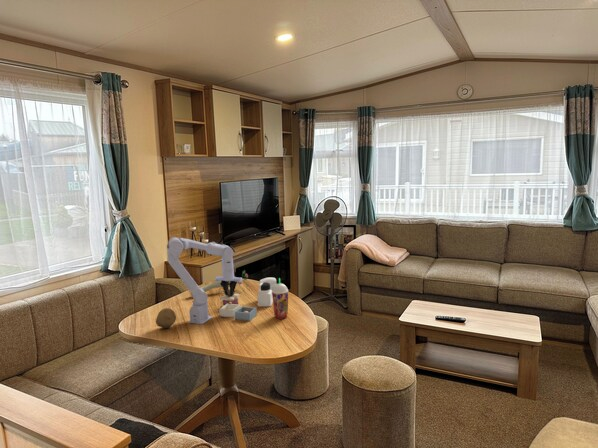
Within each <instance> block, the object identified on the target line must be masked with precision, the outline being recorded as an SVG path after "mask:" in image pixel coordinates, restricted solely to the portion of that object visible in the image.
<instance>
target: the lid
mask: <svg viewBox="0 0 598 448" xmlns="http://www.w3.org/2000/svg"><path fill="white" fill-rule="evenodd" d="M240 296H241V294H240V293H234V295H233V296H231V294H230V289H229V290H227V295H225V294H224V295H222V296H221V297H220V298H219V300H220V301H223V300H230V301H233V300H235V299H236V298H239V297H240Z"/></svg>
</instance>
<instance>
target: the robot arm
mask: <svg viewBox="0 0 598 448" xmlns="http://www.w3.org/2000/svg"><path fill="white" fill-rule="evenodd" d="M190 248H191V249H196V250H202V251H205V252H206V254H208V255H213V256H216V257H217V256H218V257H221V270H222V276H215V278H214V281H221V283H220V284H221V286H222V287H221V288H222V289H223V292H224V295H227V290H230V294H231V296H233V295H234V294H235V292H234V291H235V289H236V287H237V284H238V282H239V283H241V282H242V283H243V277H242V278H240V277H237V276H235V271H234V269H235V268H234V258H233V256H234V254H235V251H234V249H233V248H232V247H230V246H229V245H226V244H224V243H223V244H219V243H217V242H215V241H211V242H208V243H204V242H201V241H197V240H194V239H190V238H189V239H188V238H184V237H177V236H174V237H170V238H169V240H168V242H167V244H166V255H167V256H166V260H167V262H168V264H169V266H170V267H171V268H172V269H173V271H174V272H175V273H176V275H177V276H178V277H179V278H180V280H181V282H183V283H184V284H185V287H187V289H188V290H189V293H190V292H191V293H192V296H193V298H192V299H193V301H192V306H191V307H190V309H189V310H188V311H189V312H188V313H189V321H188V323H189V324H197V325H203V324H205V323H206V322H207V321H210V320H211V319H212V318H213V316H211V315H209V305H208V302H209V301H208V294H207V293H206V292H204V290H203V289H202V288H200V287H201V286H199V285H198V284H197V282H196V281H195V280H194V278H193V277H192V276H191V275H190V273H189V271H188V270H187V269H186V268H185V267H184V265H183V264H182V262H181V261H180V260H179V259H180V256H181V253H182V252H183V249H184V250H185V251H186V250H188V249H190ZM191 293H190V294H191ZM192 296H191V297H192Z"/></svg>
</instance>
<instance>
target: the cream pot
mask: <svg viewBox="0 0 598 448" xmlns="http://www.w3.org/2000/svg"><path fill="white" fill-rule="evenodd" d="M241 307H242V306H241V304H237V305H236V304H226V305H223V306H221V307H219V311H218V312H219V317H223V318H230V319H231V318H232V319H234V318H235V312H236V311H237V310H238V309H240V308H241Z"/></svg>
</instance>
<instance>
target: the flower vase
mask: <svg viewBox="0 0 598 448" xmlns="http://www.w3.org/2000/svg"><path fill="white" fill-rule="evenodd" d="M241 276H242V277H239V278H242V279H243V281H248V278H249V274H248V273H246V270H245V269H244V270H243V271H242V274H241ZM243 281H242V282H241V283H239V282H237V284H238V285H239V286H241V285H242V283H243ZM220 283H221V281H215V280H214V281H213V282H211V283H210V282H209V284H206V285H202V286H199V287H200V288H202V289H203V290H204V292H205V293H206V292H208V291H210V290H213V289H216V288H223V287H222V286H221V284H220ZM245 284H246V285H248V284H247V282H245ZM189 293H190V295H191V297H192V299H194V298H193V296H192V293H191V292H190V291H189ZM234 293H235V290H234Z"/></svg>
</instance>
